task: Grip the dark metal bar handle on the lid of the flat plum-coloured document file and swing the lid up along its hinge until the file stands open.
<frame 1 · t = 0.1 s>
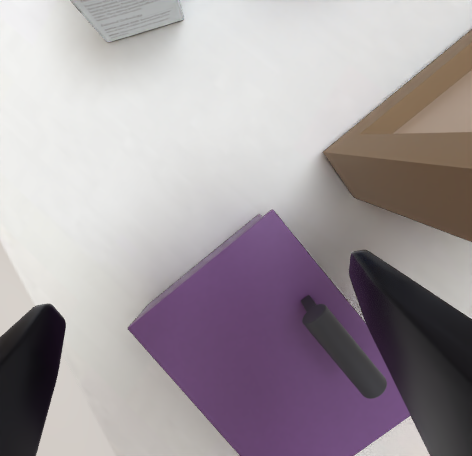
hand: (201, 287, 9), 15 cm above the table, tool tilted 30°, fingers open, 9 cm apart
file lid: (281, 380, 19), point 6 cm above the table, hinge at 0.0°
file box: (268, 338, 25), on the table
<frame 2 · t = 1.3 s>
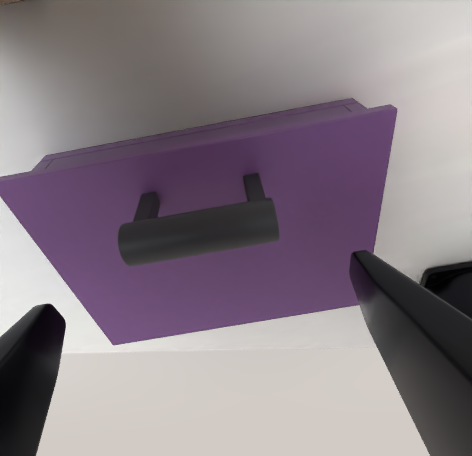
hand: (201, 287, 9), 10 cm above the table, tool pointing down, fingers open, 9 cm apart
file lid: (220, 280, 15), point 6 cm above the table, hinge at 0.0°
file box: (217, 214, 20), on the table
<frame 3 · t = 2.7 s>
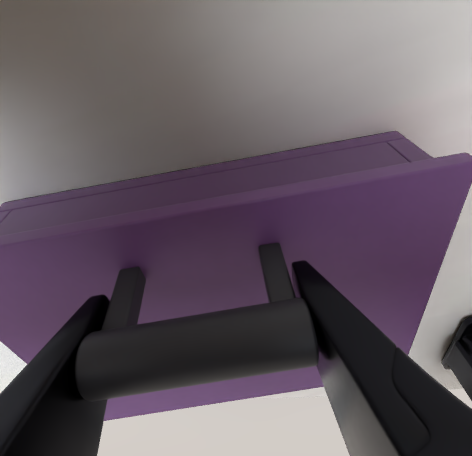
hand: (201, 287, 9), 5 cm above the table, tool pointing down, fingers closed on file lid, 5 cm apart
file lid: (226, 373, 11), point 6 cm above the table, hinge at 0.0°, touching gripper
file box: (221, 264, 16), on the table
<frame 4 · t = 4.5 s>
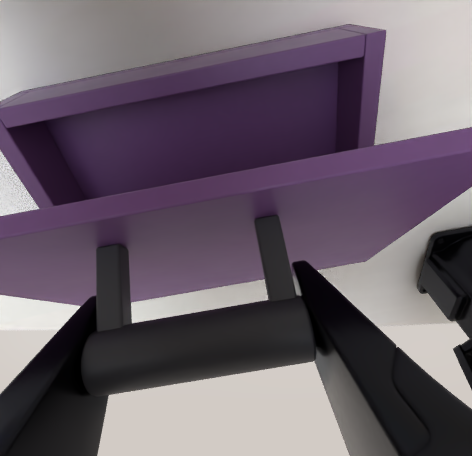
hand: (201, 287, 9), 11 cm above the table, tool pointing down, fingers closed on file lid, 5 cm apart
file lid: (218, 303, 12), point 9 cm above the table, hinge at 34.1°, touching gripper
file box: (207, 165, 19), on the table
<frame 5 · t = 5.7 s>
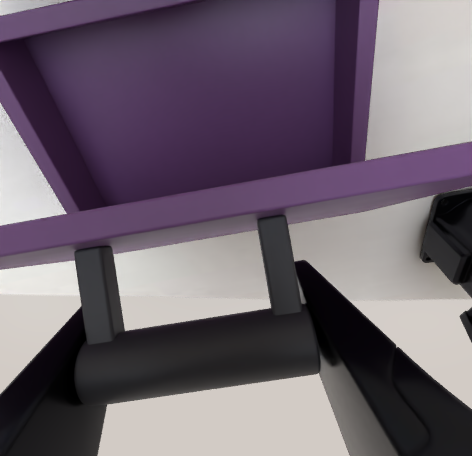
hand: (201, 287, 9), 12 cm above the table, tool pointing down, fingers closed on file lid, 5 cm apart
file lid: (213, 275, 12), point 10 cm above the table, hinge at 51.6°, touching gripper
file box: (201, 110, 18), on the table
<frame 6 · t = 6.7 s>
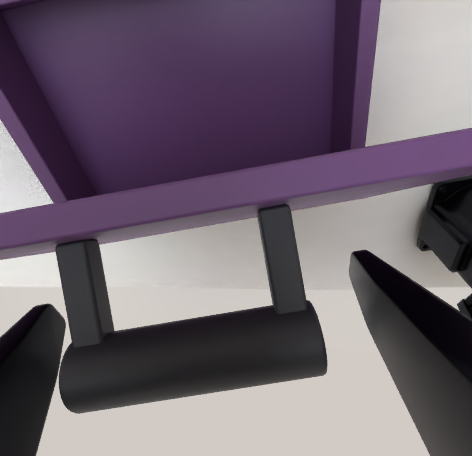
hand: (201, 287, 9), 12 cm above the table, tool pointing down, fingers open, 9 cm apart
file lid: (208, 267, 11), point 10 cm above the table, hinge at 52.4°
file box: (193, 92, 17), on the table
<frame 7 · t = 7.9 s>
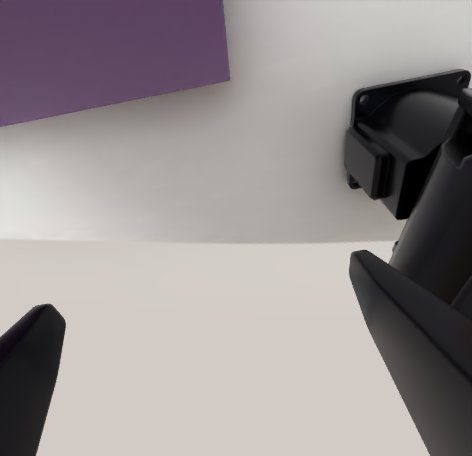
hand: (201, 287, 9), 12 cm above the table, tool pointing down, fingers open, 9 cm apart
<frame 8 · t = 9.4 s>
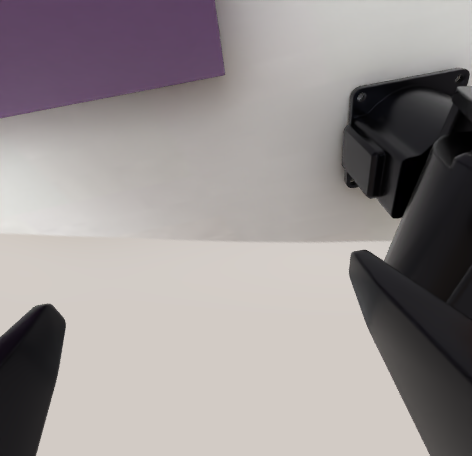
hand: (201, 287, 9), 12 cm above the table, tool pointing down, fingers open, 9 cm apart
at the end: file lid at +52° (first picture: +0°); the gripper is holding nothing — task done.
